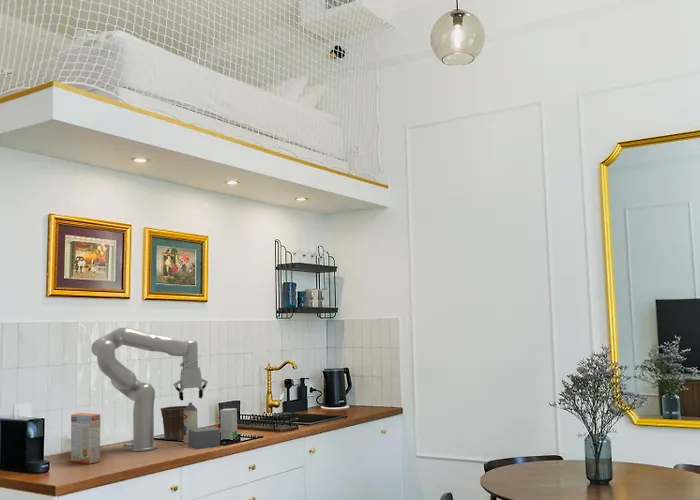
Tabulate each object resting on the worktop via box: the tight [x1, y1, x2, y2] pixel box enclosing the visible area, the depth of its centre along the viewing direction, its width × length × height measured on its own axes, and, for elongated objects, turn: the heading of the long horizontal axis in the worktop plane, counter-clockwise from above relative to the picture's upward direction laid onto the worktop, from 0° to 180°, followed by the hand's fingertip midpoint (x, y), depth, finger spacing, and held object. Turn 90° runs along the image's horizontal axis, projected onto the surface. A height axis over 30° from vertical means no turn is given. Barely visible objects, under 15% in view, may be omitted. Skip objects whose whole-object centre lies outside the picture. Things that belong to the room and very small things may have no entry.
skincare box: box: [219, 407, 238, 441], centre depth 364 cm, size 8×7×16 cm
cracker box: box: [70, 412, 101, 465], centre depth 315 cm, size 14×6×21 cm, turn 54°
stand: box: [188, 426, 221, 450], centre depth 347 cm, size 12×12×8 cm
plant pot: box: [159, 405, 188, 441], centre depth 374 cm, size 16×16×16 cm
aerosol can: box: [183, 402, 198, 445], centre depth 358 cm, size 7×7×20 cm
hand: (191, 399), depth 359 cm, fingers open, 9 cm apart
